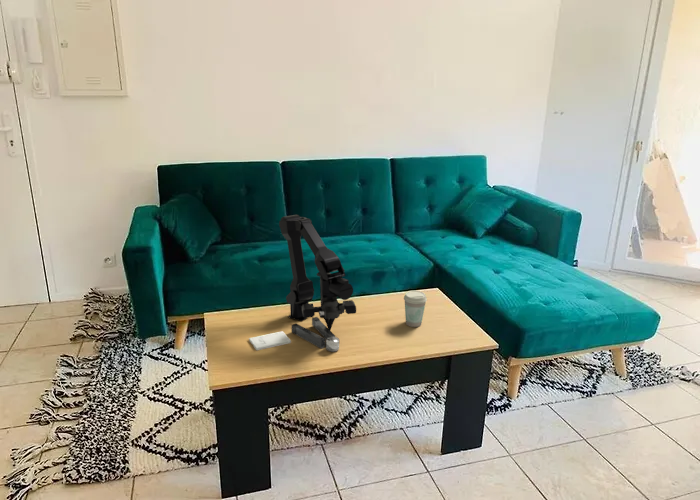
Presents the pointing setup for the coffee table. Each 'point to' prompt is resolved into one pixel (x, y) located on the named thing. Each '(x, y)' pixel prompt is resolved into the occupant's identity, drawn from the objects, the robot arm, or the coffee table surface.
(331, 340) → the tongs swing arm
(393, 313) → the coffee table surface
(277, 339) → the external hard drive
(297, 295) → the robot arm
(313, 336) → the tongs fixed arm
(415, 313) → the coffee cup
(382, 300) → the coffee table surface
